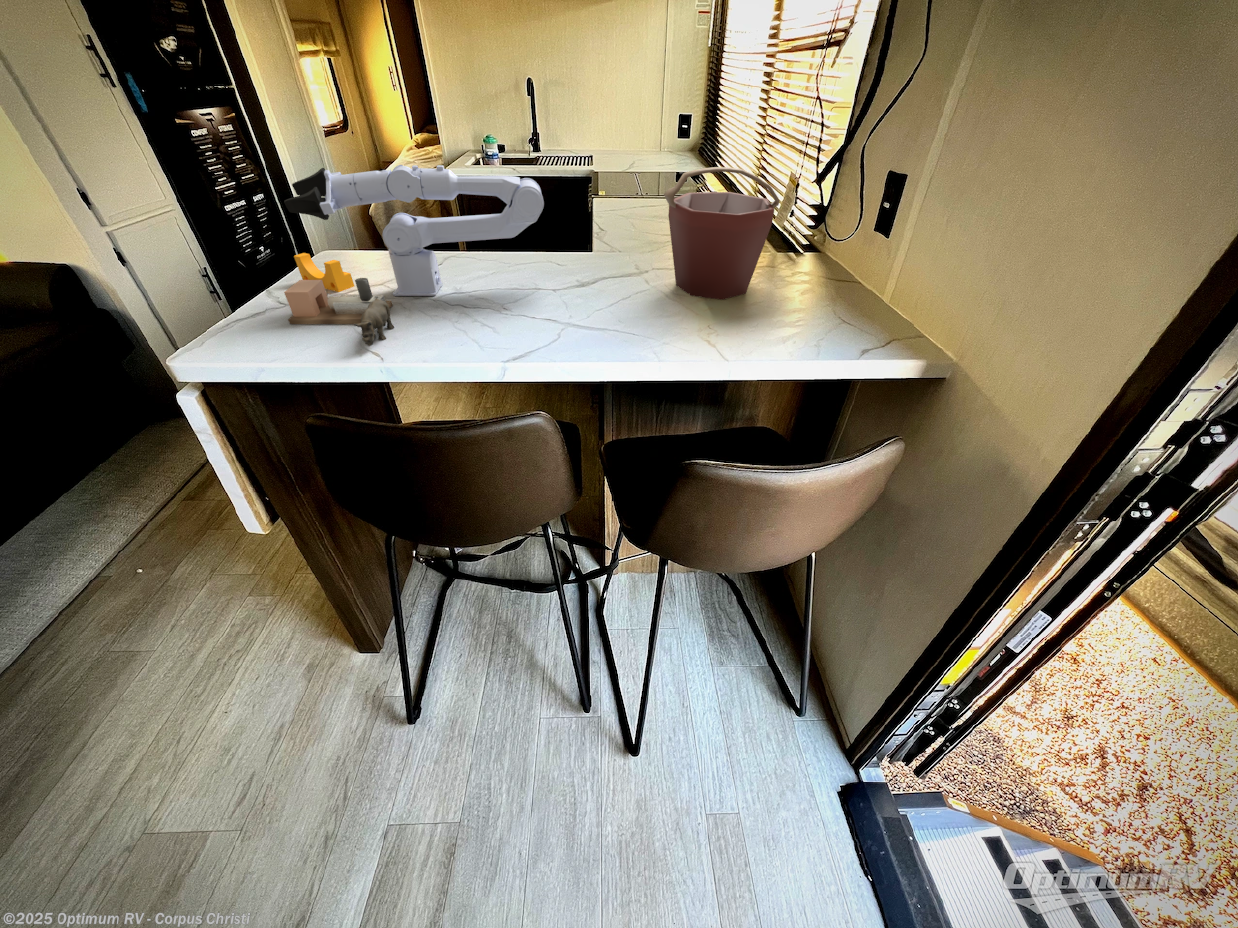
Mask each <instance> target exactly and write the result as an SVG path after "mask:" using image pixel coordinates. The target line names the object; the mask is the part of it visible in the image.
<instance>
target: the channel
mask: <svg viewBox="0 0 1238 928" xmlns="http://www.w3.org/2000/svg"><path fill="white" fill-rule="evenodd" d="M372 296H373V297H376V299H379V300H382V301H385V302H386V301H387V300H386V297H385V295H384V294H382V295H381V294H380V295H379V294H375V295H374V294H372ZM339 297H360V296H359V294H357V295H353V294H352V295H351V294H344V295H343V294H341V295H340V296H339ZM370 303H371V302H334V303H333V306H334V309H335V312H336V314H363V313H364V312H365V310H366V309H367V308H368V305H369V304H370Z"/></svg>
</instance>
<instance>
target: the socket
mask: <svg viewBox="0 0 1238 928" xmlns="http://www.w3.org/2000/svg"><path fill="white" fill-rule="evenodd" d="M326 290H327V289H325V287H324V284H323V282H322V280H303V279H300V280H297V281H296V282H295V283H294V284H292V285H291V286H290V287H289V288H288V289H286V290H285V291H283V293H284V295H285V298H286V301H287V303H288V306H289V308H290V310H291V313H292V315H293V316H294V317H300V316H317V315H318V314H319V313H320V310H319V307H327V306H328V297H329V296H328V294H327V291H326Z"/></svg>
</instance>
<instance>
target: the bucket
mask: <svg viewBox="0 0 1238 928" xmlns="http://www.w3.org/2000/svg"><path fill="white" fill-rule="evenodd" d="M717 172H718V173H721V172H722V173H734V174H740V175H742V176H744V177H747V178H749V179H751V180H753V181H755V182H756V183H758V184H759V185H761V186H762V187H763V188H766V189H767V190H768V192H769V193H770V194H771V196H772V198H773V199H774V201H772V202H770V201H769V199H768V198H764V197H759V196H753V195H749V194H742V193H736V192H732V191H714V192H713V191H711V192H710V191H707V192H705V191H704V192H703V191H702V192H687V193H684V194H682V195H679V196H678V197H677V196H676V195H677V194H678V193H679V192H680V190H681V189H682V187H684V184H685V183H686V181H687V180H688V178H691V177H694V176H699V175H703V174H704V175H705V174H710V173H717ZM663 196H664V198H665V201H666V202H667V204H668V222H669V223H668V224H669V233H670V241H671V250H672V260H673V267H674V268H673V271H674V277H675V286H677V287H678V288H679V289H680V290H682V291H683V292H684V293H686V294H688V296H691V297H696V298H697V297H698V298H705V299H706V298H707V299H714V300H721V301H722V300H727V299H730V298H735V297H739V296H742V295H744V294H747V293H748V289H749V286H750V283H751V281H752V279H753V278H752V277H753V276H754V273H755V270H756V267H757V265H758V261H759V259H760V257H761V254H762V252H763V249H764V246H765V244H766V240H767V238H768V235H769V233H770V231H771V227H772V225H773V219H774V214H775V208H777V207H778V206H779V204H780V199H779V197H778V195H777V194H776V192H775V190H774V189H773V187H771V185H770V184H769V183H767V182H766V181H764V180H762V178H760V177H759V176H757V175H754V174H753V173H750V172H749V171H747V170H744V169H742V168H737V167H727V166H726V167H725V166H714V167H712V166H711V167H703V168H699V169H693V170H689V171H685V172H683V173H682V175H681V176H680V178H679V180H678V181H677V183H676V184H675V185H674V186H673V187H669V188H668V189H667V190H666V191H665V192H664V193H663ZM675 196H676V197H675Z"/></svg>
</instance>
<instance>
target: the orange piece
mask: <svg viewBox="0 0 1238 928" xmlns="http://www.w3.org/2000/svg"><path fill="white" fill-rule="evenodd" d="M293 258H294V261H295V263H296V266H297V268H298V271H299V273H300V277H301V280H322V282H323V284H324V287H325V290H329V291H333V292H337V293H340V292H344V291H346V290H349V289H351V288H354V287H355V284H354V280H353V277H352V275H351V273H350V272H346V271H344V270H343V268H342V265H341V261H340V260H337V259H331V260H329V261H328V260H327V261H325V262H323V265H324V272H323V271H321V270H320V269H319V267H317V265H316V264H315V263H314V261H313V260H312V259H313V258H312V257H311V255H310V253H306V252H302V253H298V254H295V255H294V256H293Z"/></svg>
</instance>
